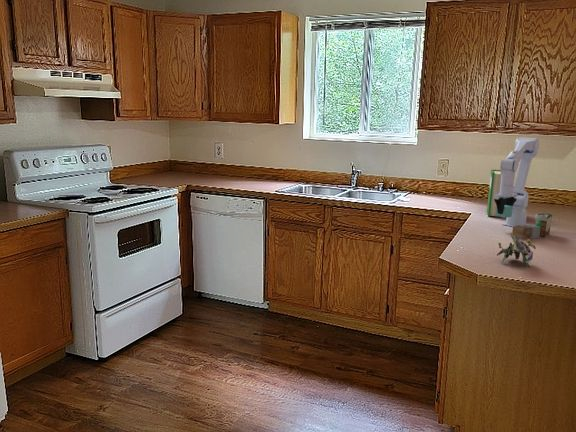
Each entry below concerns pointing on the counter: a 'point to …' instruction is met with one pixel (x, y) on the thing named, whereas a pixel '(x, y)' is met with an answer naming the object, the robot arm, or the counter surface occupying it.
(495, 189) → the hardback book
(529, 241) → the passion flower
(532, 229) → the slate-grey block
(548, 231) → the food container
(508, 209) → the teal block
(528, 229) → the brass block
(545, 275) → the counter surface
